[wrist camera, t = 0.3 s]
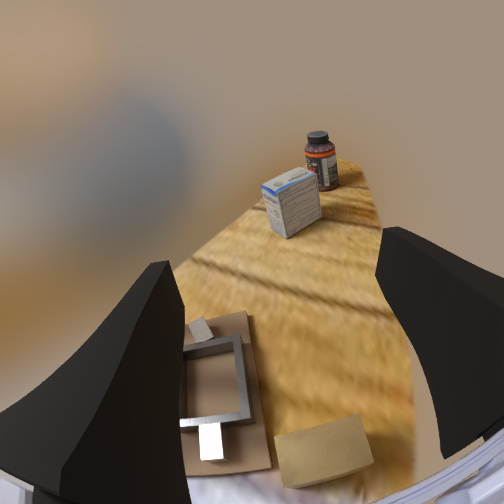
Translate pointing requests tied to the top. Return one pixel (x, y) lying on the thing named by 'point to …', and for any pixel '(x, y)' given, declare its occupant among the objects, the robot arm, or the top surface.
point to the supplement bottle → (322, 160)
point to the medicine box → (292, 201)
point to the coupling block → (323, 452)
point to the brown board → (221, 399)
